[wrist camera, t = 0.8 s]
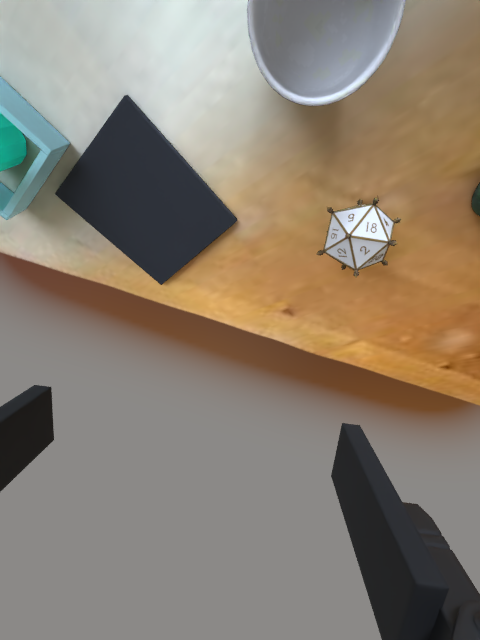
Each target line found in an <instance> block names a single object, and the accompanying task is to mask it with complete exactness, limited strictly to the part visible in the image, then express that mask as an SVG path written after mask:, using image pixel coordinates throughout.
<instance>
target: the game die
mask: <svg viewBox="0 0 480 640" xmlns="http://www.w3.org/2000/svg"><path fill="white" fill-rule="evenodd" d="M378 201H379V200H378V196H377V197H376V198H374V200H373V203H372V204H362V200H361V199H360V200H359V201H358V203H357V204H358V205H357V206H353V207H349V208H345V209H342V210H338V211H333V209H332V207H331V208H330V207H327V210H328V212H329V213H331V219H330V223H329V228H328V231H327V236H326V241H325V245H324V250H322V251H321V250H320V251H319V252H318V253H317V254H316V255H320V256H321V255H323V253H326V254H327V255H329V256H330V257H332V258H334V259H335V260H337V261H338V262H340V263H342V264H343V265H342V267H341V268H342V270H343V269H345V268H346V266H347V267H349V268H351V269H353V270H355V272H354V276H355V277H357V276H358V275H359V274H358V273H359V272H358V270H360V269H363V268H365V267H368V266H371V265H373V264H376V263H378V262H382V264H383V265H388V263H387V261H386V260H384V258H385V255H386V253H387V250H388V248H389V245H391V246H392V245H393V246H394V245H396V244H397V242H396V240H395V241H394V240H392V241H391V238H392V232H393V227H394V223H398V222H400V220H401V219H400V218H397V219H395V220H394V221H393V220H392V219H391V218H390V217H388V216H387V215H386V214H385V213H384V212H383V211H382V210H381V209H380V208H379V207H377V206H376V204H377V203H378Z"/></svg>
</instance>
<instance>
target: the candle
mask: <svg viewBox="0 0 480 640" xmlns="http://www.w3.org/2000/svg"><path fill="white" fill-rule="evenodd" d="M26 155H27V150H26V140H25V138H24V136H23V134H22V132H21V131H20V130H19V129H18V128H17V127H16V126H15V125H13V124H12V123H11V122H10V121H9V120H8V119H7V118H6V117H5V116H3V115H2V114H1V113H0V172H1V171H3V170H6V169H8V168H11V167H13V166H16V165H18V164H21V163H22V161H23V160H24V158H25V156H26Z"/></svg>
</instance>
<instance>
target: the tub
mask: <svg viewBox="0 0 480 640" xmlns="http://www.w3.org/2000/svg"><path fill="white" fill-rule="evenodd" d="M0 113H1V114H2V115H3V116H5V117H6V118H7V119H8V120H9V121H10V122H11V123H12V124H13V125H15V126H16V127H17V128H18V129H19V130H20V131H21V132H22V133H23V134H24V135H26V136H27V137H28V138H29V139H30V140H31V141H32V142H33V143H34V144H36V145H37V146H38V147H39V148H40V149H41V151H40V152H39V154H38V156H37V157H36V159H35V160H34V162H33V164H32V165H31V167H30V169H29V170H28V172H27V173H26V175H25V177H24V178H23V180H22V181H21V183H20V185H19V186H18V188H17V190H16V191H15V193H13V192H12V191H11V190H10V189H8V188H7V187H6V186H5V185H3V184H2V183H1V182H0V216H2V217H3V218H4V219H5V220H8V219H10V218H12V217H13V216H15V215H17V214H19V213H20V212H22V211H24V210H25V209H27V207H28V206H29V205H30V203H31V202H32V200H33V199H34V197H35V196H36V194H37V193H38V191H39V190H40V188H41V187H42V185H43V184H44V182H45V181H46V179H47V178H48V176H49V175H50V173H51V172H52V170H53V169H54V167H55V166H56V164H57V163H58V161H59V160H60V158H61V157H62V155H63V154H64V152H65V151H66V149H67V148H68V146H69V145H70V142H69V141H67V140H66V139H65V138H64V137H63V136H62V135H61V134H60V133H59V132H58V131H57V130H56V129H55V128H54V127H53V126H52V125H51V124H50V123H49V122H48V121H47V120H45V119H44V118H43V117H42V116H41V115H40V114H39V113H38V112H37V111H36V110H35V109H34V108H33V107H32V106H31V105H30V104H29V103H28V102H27V101H26V100H25V99H23V98H22V97H21V96H20V95H19V94H18V93H17V92H16V91H15V90H14V89H13V88H12V87H11V86H10V85H9V84H8V83H7V82H6V81H5V80H4V79H3V78H1V77H0Z"/></svg>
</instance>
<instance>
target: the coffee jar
mask: <svg viewBox="0 0 480 640" xmlns="http://www.w3.org/2000/svg"><path fill="white" fill-rule="evenodd" d="M472 208H473V210H474V212H475V213H476V214H477V215H479V216H480V183H479V184H478V186H477V188H476V190H475V192H474V194H473V197H472Z"/></svg>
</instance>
